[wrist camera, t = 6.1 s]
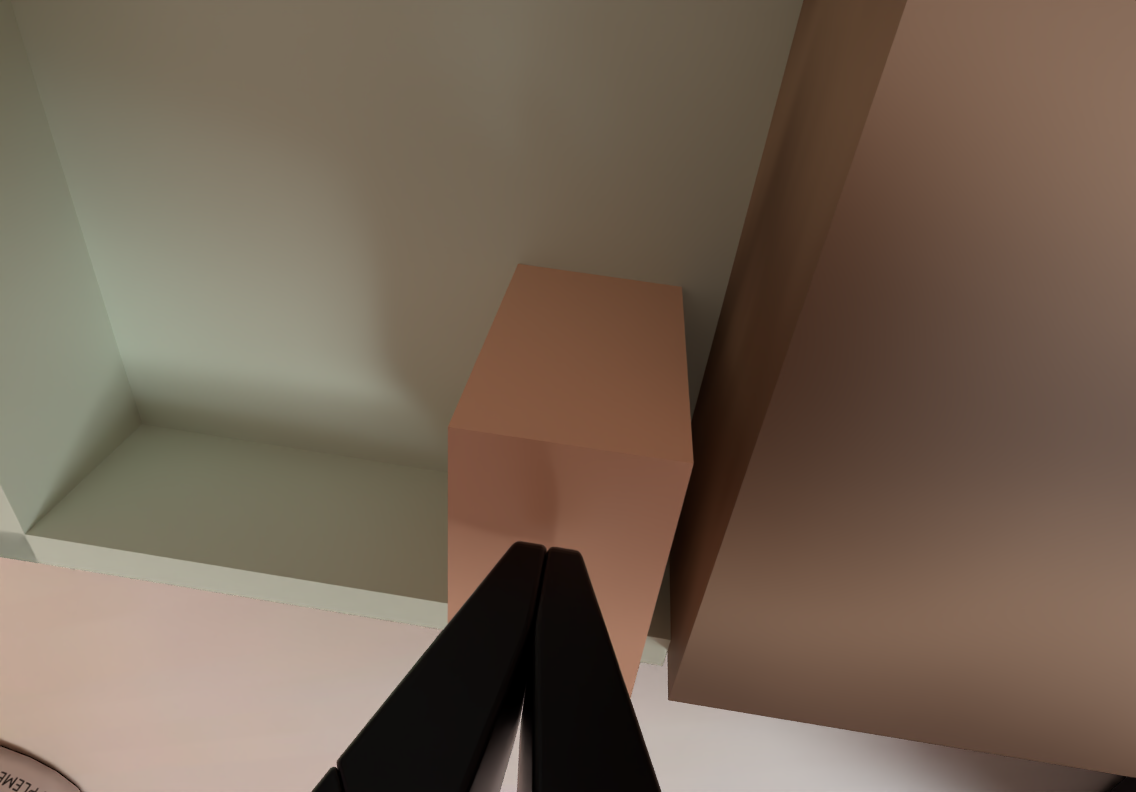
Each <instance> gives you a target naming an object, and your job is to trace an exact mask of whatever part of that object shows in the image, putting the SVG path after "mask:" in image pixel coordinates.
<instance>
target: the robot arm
mask: <svg viewBox="0 0 1136 792" xmlns="http://www.w3.org/2000/svg"><path fill="white" fill-rule="evenodd" d="M524 695H525V696H524ZM523 701H524V704H523ZM522 706H523V711H522ZM521 711H522V719H521V729H520V742H519V763H518V784H517V792H661V789H660V786H659V783H658V780H657V777H656V774H655V771H654V768H653V765H652V762H651V759H650V756H649V753H648V750H647V747H646V744H645V741H644V738H643V735H642V732H641V729H640V726H639V723H638V720H637V717H636V714H635V711H634V708H633V705H632V702H631V699H630V696H629V693H628V690H627V687H626V684H625V681H624V678H623V676H622V673H621V670H620V667H619V664H618V661H617V658H616V655H615V652H614V649H613V646H612V643H611V640H610V637H609V634H608V631H607V628H606V625H605V622H604V619H603V616H602V613H601V610H600V607H599V604H598V601H597V598H596V595H595V592H594V589H593V586H592V583H591V580H590V577H589V574H588V571H587V568H586V565H585V562H584V559H583V556H582V554H581V553H580V552H579V551H577V550H573V549H567V548H561V547H550V548H549V549H548V551H547V549H546V547H545V546H544V545H542V544H536V543H529V542H523V541H517V542H515V543H513V544H512V545H511V546H510V548H509V549H508V550H507V551H506V553H505V554H504V555H503V556H502V557H501V559H500V560H499V561H498V562H497V564H496V565H495V566H494V567H493V569H492V570H491V571H490V572H489V574H488V575H487V576H486V577H485V578H484V580H483V581H482V582H481V583H480V585H479V586H478V587H477V588H476V590H475V591H474V592H473V593H472V595H471V596H470V597H469V598H468V599H467V601H466V602H465V603H464V604H463V606H462V607H461V608H460V609H459V611H458V612H457V613H456V614H455V616H454V617H453V618H452V619H451V620H450V622H449V623H448V624H447V625H446V627H445V628H444V629H443V630H442V632H441V633H440V634H439V635H438V637H437V638H436V639H435V640H434V641H433V643H432V644H431V645H430V646H429V648H428V649H427V650H426V651H425V653H424V654H423V655H422V656H421V658H420V659H419V660H418V661H417V662H416V664H415V665H414V666H413V667H412V669H411V670H410V671H409V672H408V674H407V675H406V676H405V677H404V679H403V680H402V681H401V682H400V683H399V685H398V686H397V687H396V688H395V690H394V691H393V692H392V693H391V695H390V696H389V697H388V698H387V700H386V701H385V702H384V703H383V704H382V706H381V707H380V708H379V709H378V711H377V712H376V713H375V714H374V716H373V717H372V718H371V719H370V721H369V722H368V723H367V724H366V725H365V727H364V728H363V729H362V730H361V732H360V733H359V734H358V735H357V737H356V738H355V739H354V740H353V742H352V743H351V744H350V745H349V746H348V748H347V749H346V750H345V751H344V753H343V754H342V755H341V756H340V758H339V759H338V760H337V768H336V767H332V768H330V769H329V771H328V772H327V773H326V774H325V776H324V777H323V778H322V779H321V781H320V782H319V783H318V784H317V785H316V787H315V788H314V789H313V790H312V792H500V789H501V786H502V782H503V779H504V776H505V772H506V769H507V765H508V762H509V758H510V755H511V751H512V748H513V745H514V741H515V737H516V733H517V729H518V726H519V722H520V717H521ZM1110 792H1136V778H1134V777H1128V776H1127V777H1126V778H1125V779H1124V780H1122V781H1121V782H1120V783H1119V784H1118V785H1117V786H1116V787H1114V788H1113V789H1112V790H1111V791H1110Z"/></svg>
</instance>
